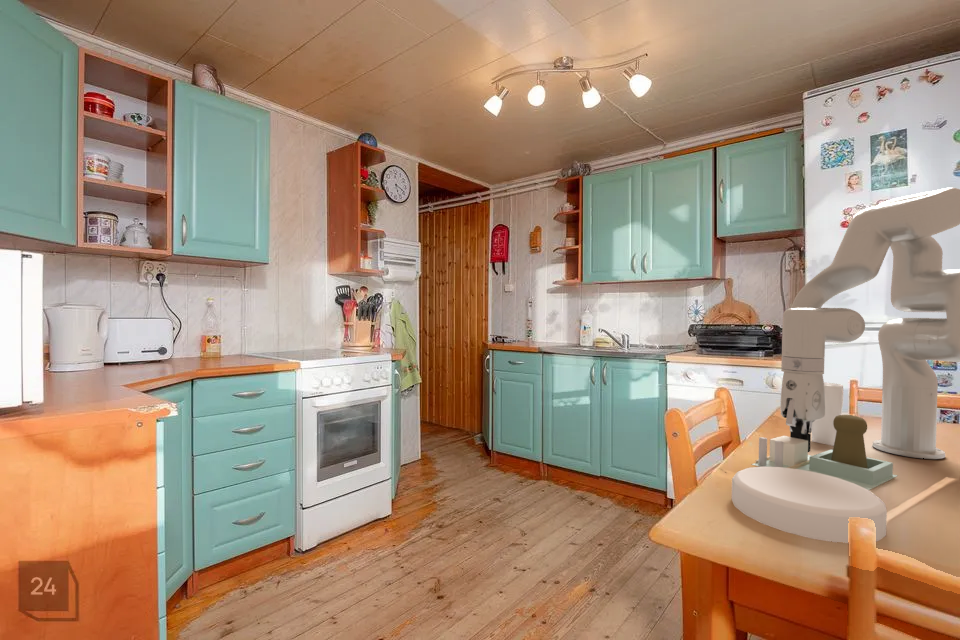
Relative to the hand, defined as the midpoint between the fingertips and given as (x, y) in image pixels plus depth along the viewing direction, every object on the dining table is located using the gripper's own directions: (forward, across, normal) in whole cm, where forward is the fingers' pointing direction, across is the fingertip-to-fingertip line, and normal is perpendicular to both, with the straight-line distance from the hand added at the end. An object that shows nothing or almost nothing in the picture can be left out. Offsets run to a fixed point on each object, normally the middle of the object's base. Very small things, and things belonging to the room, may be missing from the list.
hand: (800, 450), depth 99 cm
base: (+3, -5, -6) cm, 8 cm away
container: (+3, -28, -12) cm, 31 cm away
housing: (+2, -5, 0) cm, 5 cm away
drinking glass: (+3, +23, +4) cm, 23 cm away
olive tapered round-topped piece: (+2, -2, -9) cm, 10 cm away
